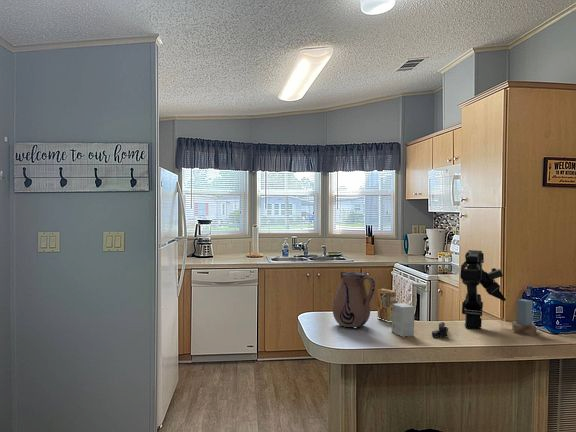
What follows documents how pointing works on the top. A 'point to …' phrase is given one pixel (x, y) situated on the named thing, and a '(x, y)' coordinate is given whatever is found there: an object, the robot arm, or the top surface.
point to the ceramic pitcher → (353, 300)
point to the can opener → (440, 331)
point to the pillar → (524, 312)
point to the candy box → (386, 303)
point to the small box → (403, 319)
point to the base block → (524, 329)
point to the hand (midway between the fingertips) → (503, 298)
